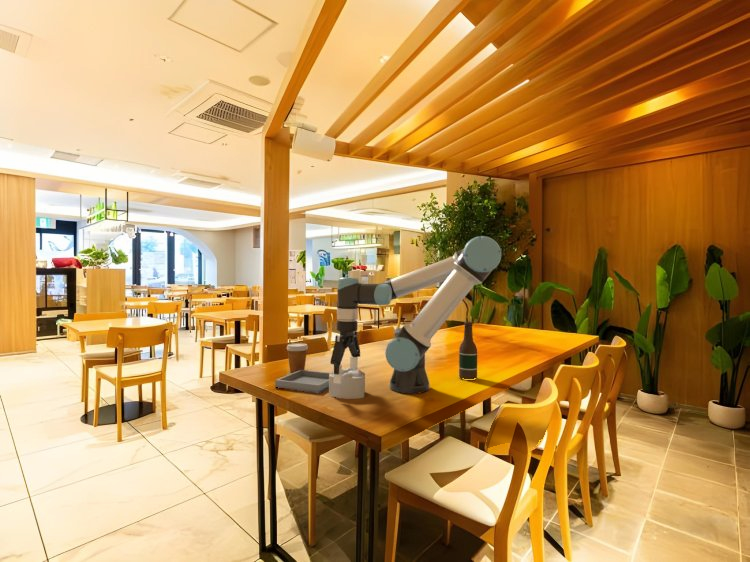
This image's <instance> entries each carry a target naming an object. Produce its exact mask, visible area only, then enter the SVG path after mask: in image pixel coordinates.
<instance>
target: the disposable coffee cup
mask: <svg viewBox="0 0 750 562" xmlns="http://www.w3.org/2000/svg"><path fill="white" fill-rule="evenodd" d="M308 348H309V346H308V344H307V343H303V342H301V343H300V342H296V343H295V342H294V343H289V344H287V346H286V350H287V357H288V366H289V372H290V373H294V372H296V371H299V370H305V368H306V360H307V352H308Z"/></svg>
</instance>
